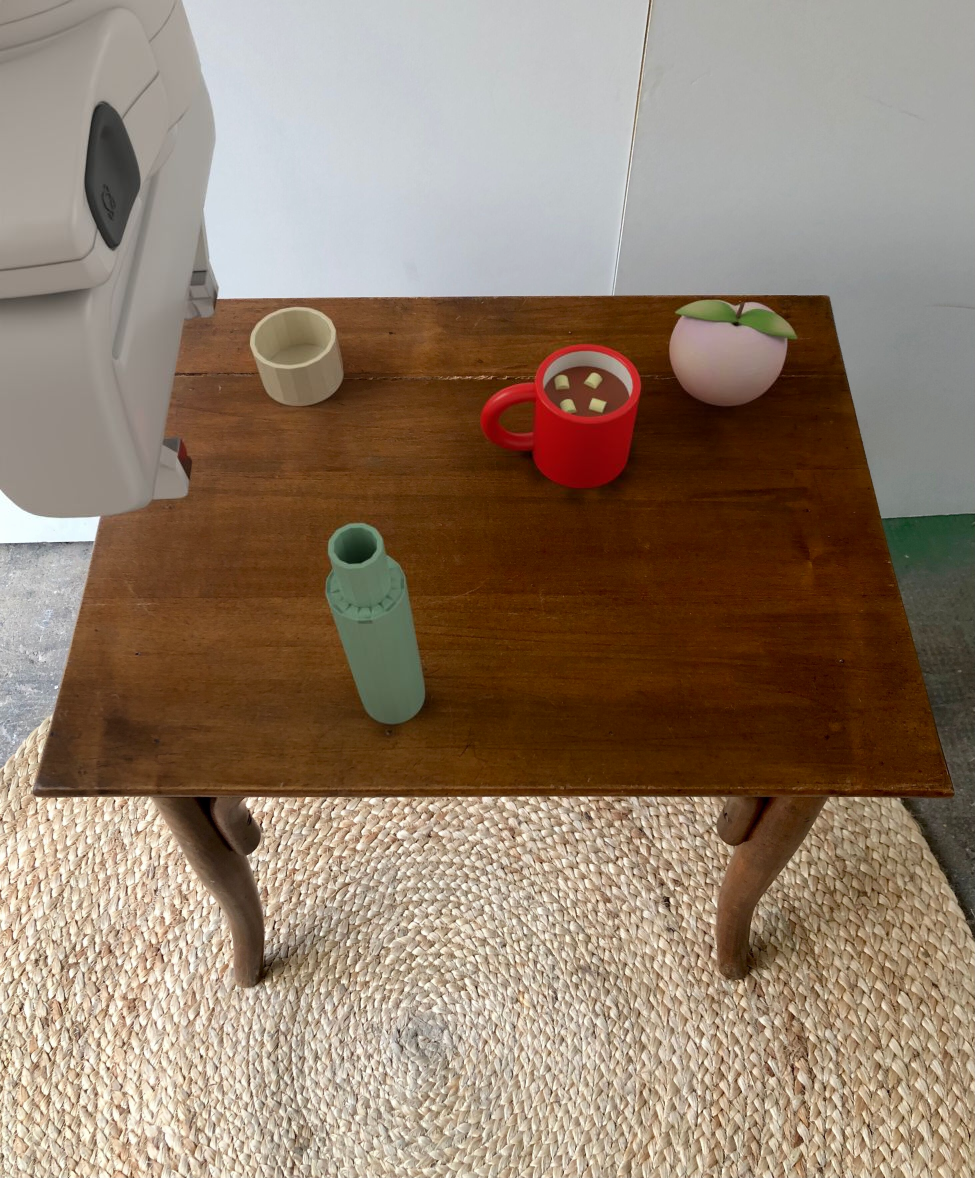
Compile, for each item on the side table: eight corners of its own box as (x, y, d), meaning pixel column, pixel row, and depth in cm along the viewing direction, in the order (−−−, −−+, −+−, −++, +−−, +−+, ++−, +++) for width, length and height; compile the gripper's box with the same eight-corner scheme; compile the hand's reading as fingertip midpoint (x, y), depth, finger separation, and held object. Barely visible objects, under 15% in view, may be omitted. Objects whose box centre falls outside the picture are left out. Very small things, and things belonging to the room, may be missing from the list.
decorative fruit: (659, 431, 74) (679, 340, 66) (660, 358, 79) (679, 264, 70) (774, 439, 74) (810, 349, 65) (769, 365, 78) (803, 272, 69)
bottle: (361, 726, 62) (310, 584, 45) (362, 667, 64) (314, 512, 48) (425, 723, 62) (397, 580, 45) (424, 664, 64) (398, 508, 48)
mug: (477, 420, 75) (474, 351, 69) (620, 409, 76) (631, 339, 69) (485, 496, 71) (484, 431, 65) (636, 484, 72) (650, 417, 65)
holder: (259, 408, 76) (246, 370, 72) (265, 347, 80) (253, 308, 76) (342, 404, 76) (333, 366, 73) (345, 344, 80) (337, 304, 76)
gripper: (-7, -134, 30) (145, 224, 42) (-227, 301, 19) (58, 612, 31) (184, -146, 30) (281, 216, 42) (66, 283, 19) (240, 602, 31)
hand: (185, 389), depth 36 cm, fingers open, 8 cm apart
